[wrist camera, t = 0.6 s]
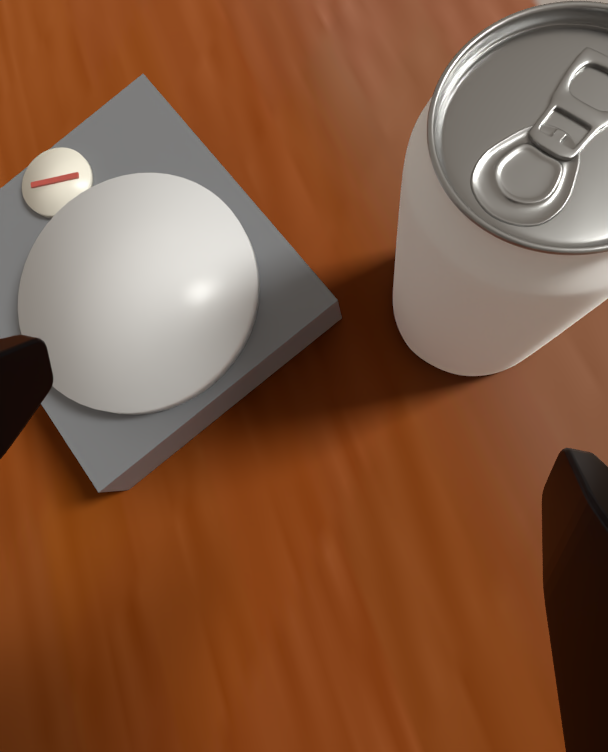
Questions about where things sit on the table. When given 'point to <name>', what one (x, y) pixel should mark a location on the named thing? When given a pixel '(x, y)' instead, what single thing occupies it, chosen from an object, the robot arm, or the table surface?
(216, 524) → the table surface
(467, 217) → the can
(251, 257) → the scale
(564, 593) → the robot arm
